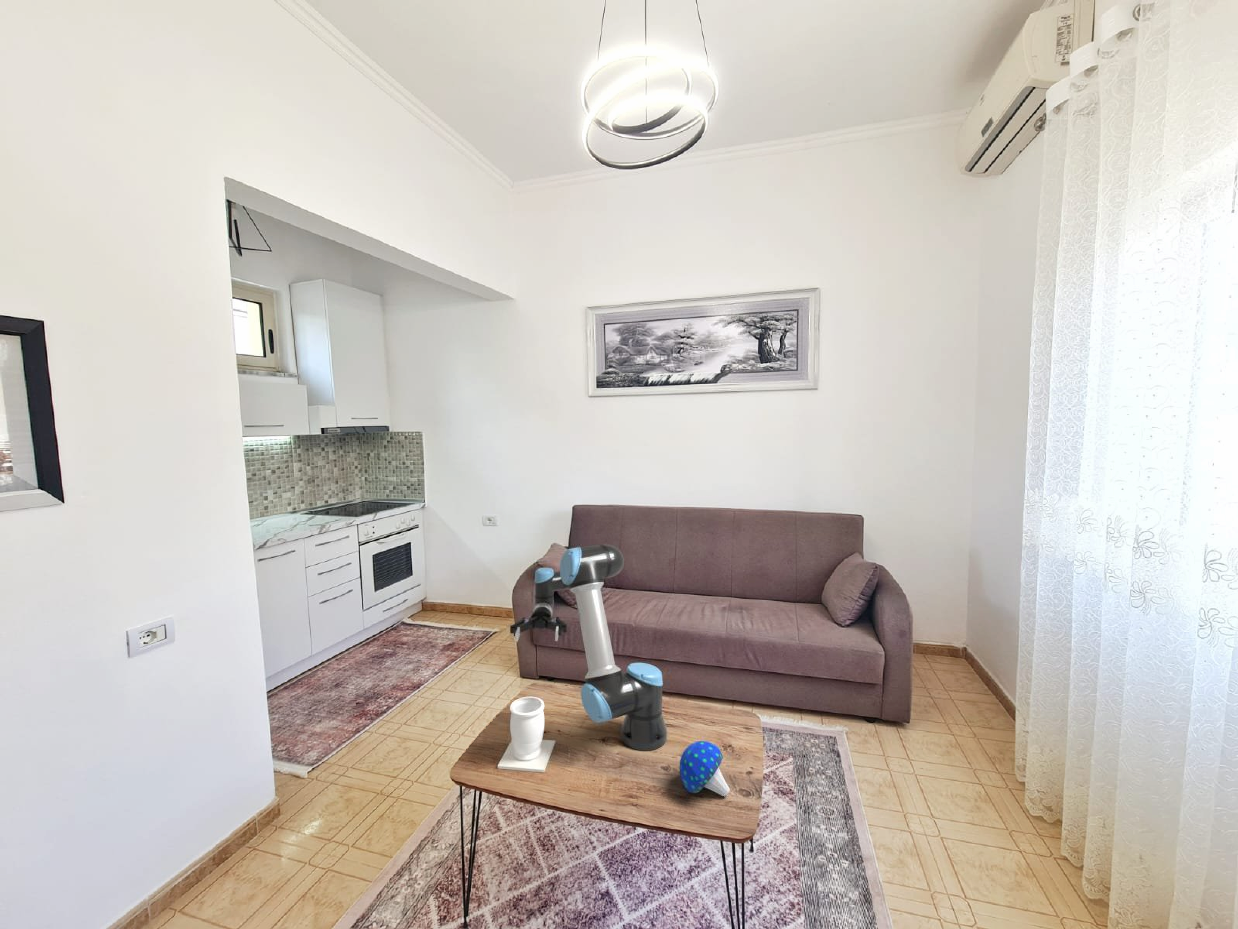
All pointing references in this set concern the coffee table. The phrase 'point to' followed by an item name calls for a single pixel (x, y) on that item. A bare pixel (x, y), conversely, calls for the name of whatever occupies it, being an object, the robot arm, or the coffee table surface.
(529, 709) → the jar
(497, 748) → the coffee table surface
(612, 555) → the robot arm
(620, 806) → the coffee table surface
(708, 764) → the mushroom
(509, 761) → the ceramic tile
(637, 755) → the coffee table surface
